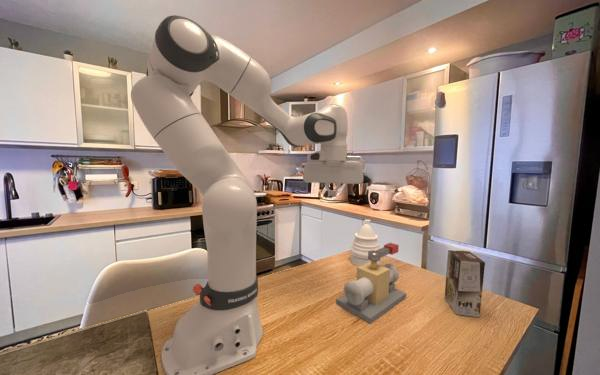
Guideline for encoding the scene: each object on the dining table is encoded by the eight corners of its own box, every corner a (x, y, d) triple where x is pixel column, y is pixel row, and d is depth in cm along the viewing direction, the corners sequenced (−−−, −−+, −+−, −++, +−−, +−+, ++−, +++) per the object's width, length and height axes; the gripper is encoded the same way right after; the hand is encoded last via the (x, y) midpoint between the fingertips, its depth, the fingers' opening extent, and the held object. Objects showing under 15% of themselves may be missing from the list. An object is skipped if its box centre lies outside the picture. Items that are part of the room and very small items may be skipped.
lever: (375, 262, 72) (376, 255, 72) (365, 259, 75) (365, 251, 74) (399, 252, 81) (399, 245, 81) (389, 249, 84) (389, 242, 83)
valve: (370, 323, 65) (372, 276, 64) (336, 303, 74) (337, 261, 73) (406, 297, 78) (408, 257, 76) (373, 283, 87) (374, 247, 86)
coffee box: (480, 318, 68) (486, 262, 66) (455, 314, 69) (460, 260, 68) (465, 300, 77) (470, 250, 75) (443, 297, 78) (447, 249, 77)
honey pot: (353, 254, 114) (354, 216, 112) (382, 258, 109) (384, 219, 107) (347, 264, 102) (348, 222, 101) (379, 270, 97) (381, 226, 96)
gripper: (364, 156, 83) (362, 196, 85) (305, 155, 87) (304, 194, 88) (366, 155, 77) (364, 198, 79) (302, 155, 81) (301, 196, 82)
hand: (332, 196), depth 83 cm, fingers closed
